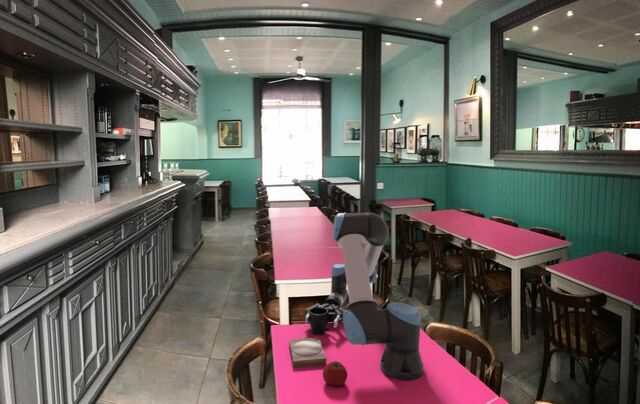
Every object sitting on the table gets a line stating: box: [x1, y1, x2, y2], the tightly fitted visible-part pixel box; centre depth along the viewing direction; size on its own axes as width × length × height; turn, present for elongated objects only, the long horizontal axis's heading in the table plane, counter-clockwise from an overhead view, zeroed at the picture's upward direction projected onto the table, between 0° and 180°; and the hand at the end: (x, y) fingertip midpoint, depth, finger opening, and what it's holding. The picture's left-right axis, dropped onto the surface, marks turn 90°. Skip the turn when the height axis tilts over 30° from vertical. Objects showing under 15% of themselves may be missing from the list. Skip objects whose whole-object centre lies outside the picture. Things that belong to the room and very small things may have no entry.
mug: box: [308, 307, 337, 336], centre depth 166 cm, size 8×12×10 cm
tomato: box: [322, 360, 348, 387], centre depth 130 cm, size 8×8×7 cm
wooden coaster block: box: [289, 337, 327, 368], centre depth 149 cm, size 16×12×3 cm
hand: (320, 322), depth 162 cm, fingers closed on mug, 12 cm apart
